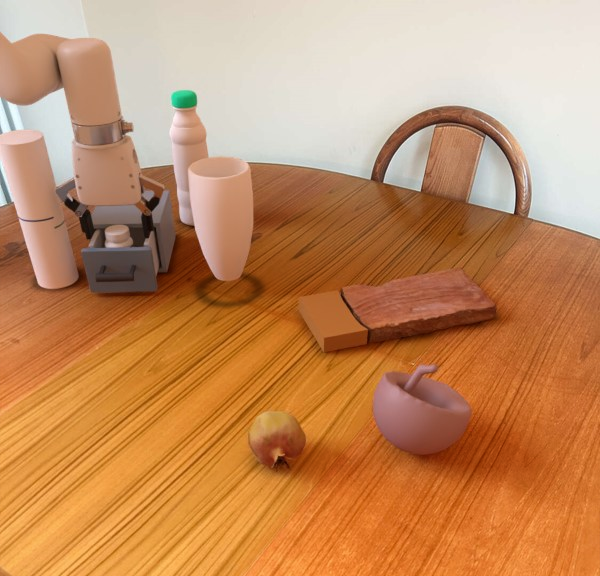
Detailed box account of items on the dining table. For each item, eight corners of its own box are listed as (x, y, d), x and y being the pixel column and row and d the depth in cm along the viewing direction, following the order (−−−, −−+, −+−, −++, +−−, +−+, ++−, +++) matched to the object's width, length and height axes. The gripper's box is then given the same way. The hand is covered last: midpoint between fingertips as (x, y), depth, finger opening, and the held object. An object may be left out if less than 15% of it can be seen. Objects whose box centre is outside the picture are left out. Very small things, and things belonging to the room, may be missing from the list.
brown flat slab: (298, 311, 109) (297, 293, 107) (458, 282, 116) (461, 266, 114) (324, 354, 100) (324, 336, 98) (497, 320, 107) (501, 303, 105)
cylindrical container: (31, 277, 119) (-12, 136, 103) (68, 265, 122) (32, 126, 106) (47, 293, 114) (5, 147, 98) (85, 279, 118) (50, 137, 102)
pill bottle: (106, 273, 116) (96, 229, 110) (129, 264, 118) (121, 220, 113) (119, 283, 113) (110, 238, 108) (143, 274, 115) (135, 229, 110)
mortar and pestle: (481, 441, 85) (498, 371, 77) (425, 490, 78) (437, 418, 71) (408, 399, 91) (417, 330, 84) (350, 440, 85) (355, 370, 78)
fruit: (236, 400, 82) (245, 454, 75) (289, 383, 82) (303, 435, 75) (253, 438, 87) (263, 492, 79) (302, 422, 87) (317, 475, 79)
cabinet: (167, 272, 120) (159, 223, 114) (97, 274, 120) (86, 224, 113) (175, 236, 131) (169, 190, 125) (112, 238, 131) (102, 191, 125)
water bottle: (220, 216, 138) (209, 89, 122) (203, 229, 133) (189, 99, 118) (192, 210, 141) (177, 85, 125) (173, 223, 136) (156, 95, 120)
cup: (257, 304, 111) (250, 179, 97) (196, 305, 111) (180, 180, 97) (260, 274, 119) (254, 154, 105) (203, 275, 119) (189, 155, 105)
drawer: (153, 304, 110) (146, 262, 105) (85, 306, 109) (74, 264, 104) (166, 254, 123) (160, 215, 118) (105, 256, 123) (97, 216, 118)
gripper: (159, 122, 103) (173, 224, 114) (48, 124, 103) (73, 226, 113) (152, 138, 97) (168, 244, 108) (35, 140, 97) (62, 246, 108)
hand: (119, 235), depth 111 cm, fingers open, 9 cm apart
